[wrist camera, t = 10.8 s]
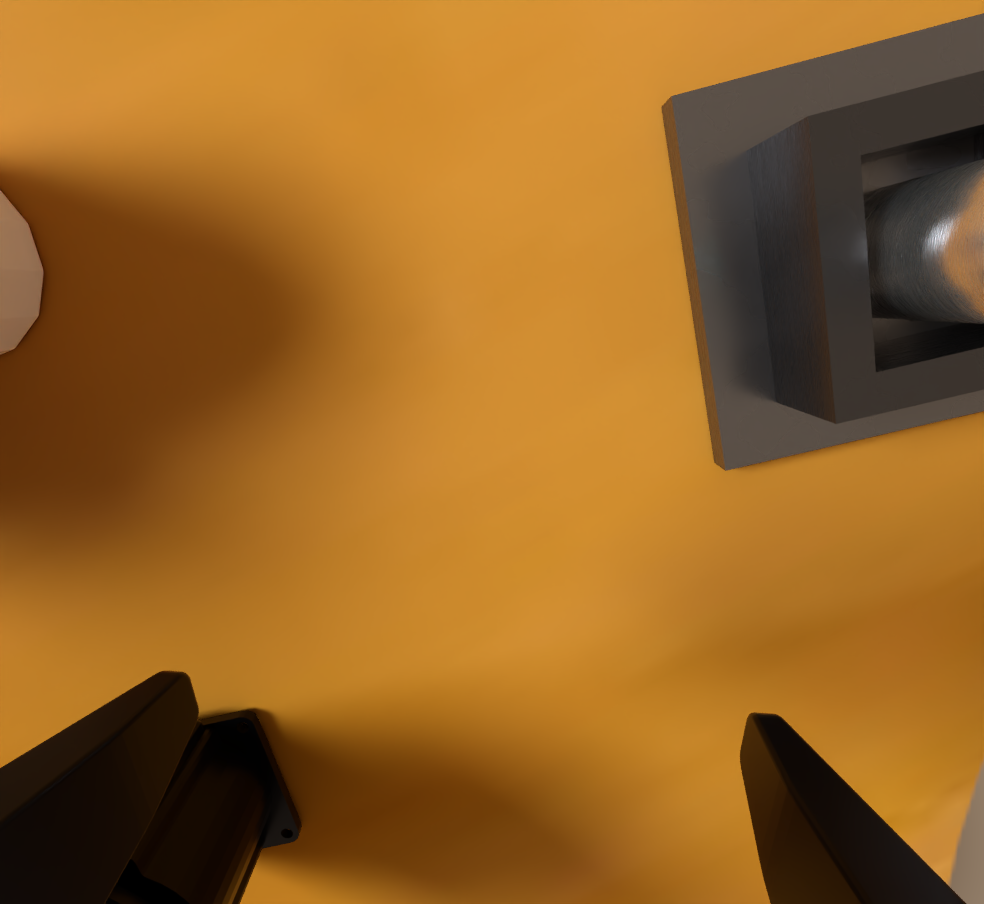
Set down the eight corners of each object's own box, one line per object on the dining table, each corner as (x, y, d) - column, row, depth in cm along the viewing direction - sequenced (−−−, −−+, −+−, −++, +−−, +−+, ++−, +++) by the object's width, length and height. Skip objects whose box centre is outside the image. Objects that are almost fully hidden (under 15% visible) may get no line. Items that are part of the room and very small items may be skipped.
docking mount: (1048, 385, 21) (1197, 409, 16) (714, 462, 21) (773, 505, 17) (1050, 4, 18) (1235, -93, 13) (661, 106, 18) (716, 47, 14)
